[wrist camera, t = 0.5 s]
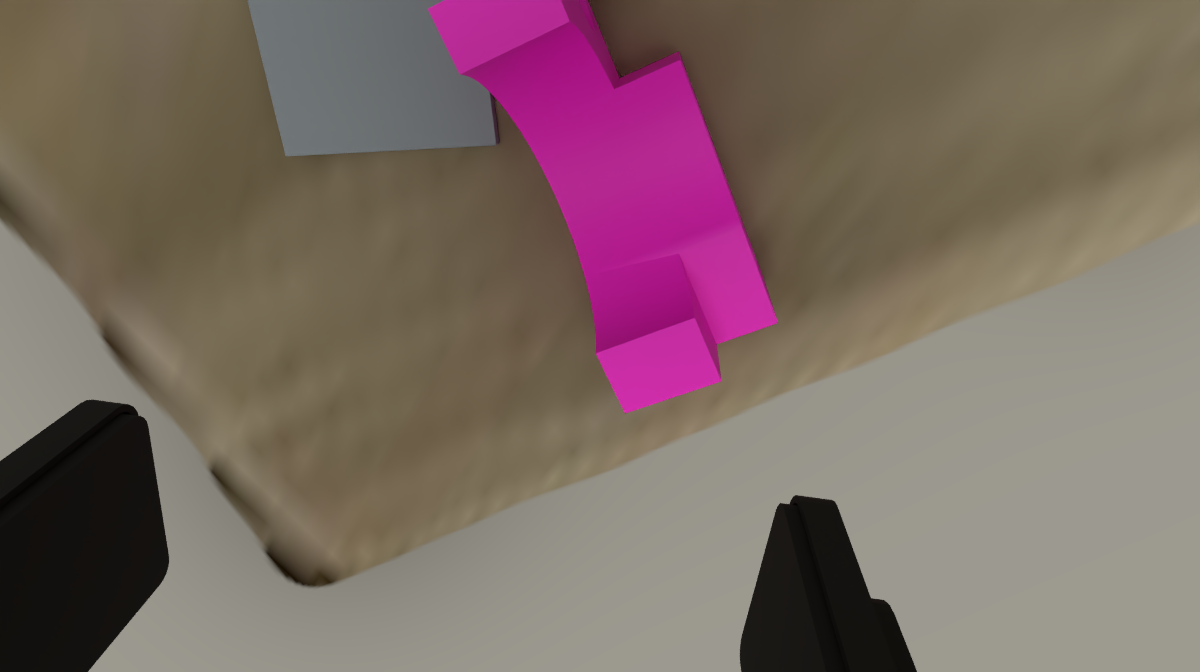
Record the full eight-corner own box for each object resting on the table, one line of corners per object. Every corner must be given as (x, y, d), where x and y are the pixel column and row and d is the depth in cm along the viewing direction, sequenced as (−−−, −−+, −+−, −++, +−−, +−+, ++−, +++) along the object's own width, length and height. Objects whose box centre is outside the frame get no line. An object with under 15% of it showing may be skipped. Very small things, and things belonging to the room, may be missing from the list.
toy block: (764, 280, 33) (789, 358, 26) (633, 328, 34) (625, 413, 28) (632, -74, 27) (620, -91, 21) (483, 1, 29) (427, 9, 22)
